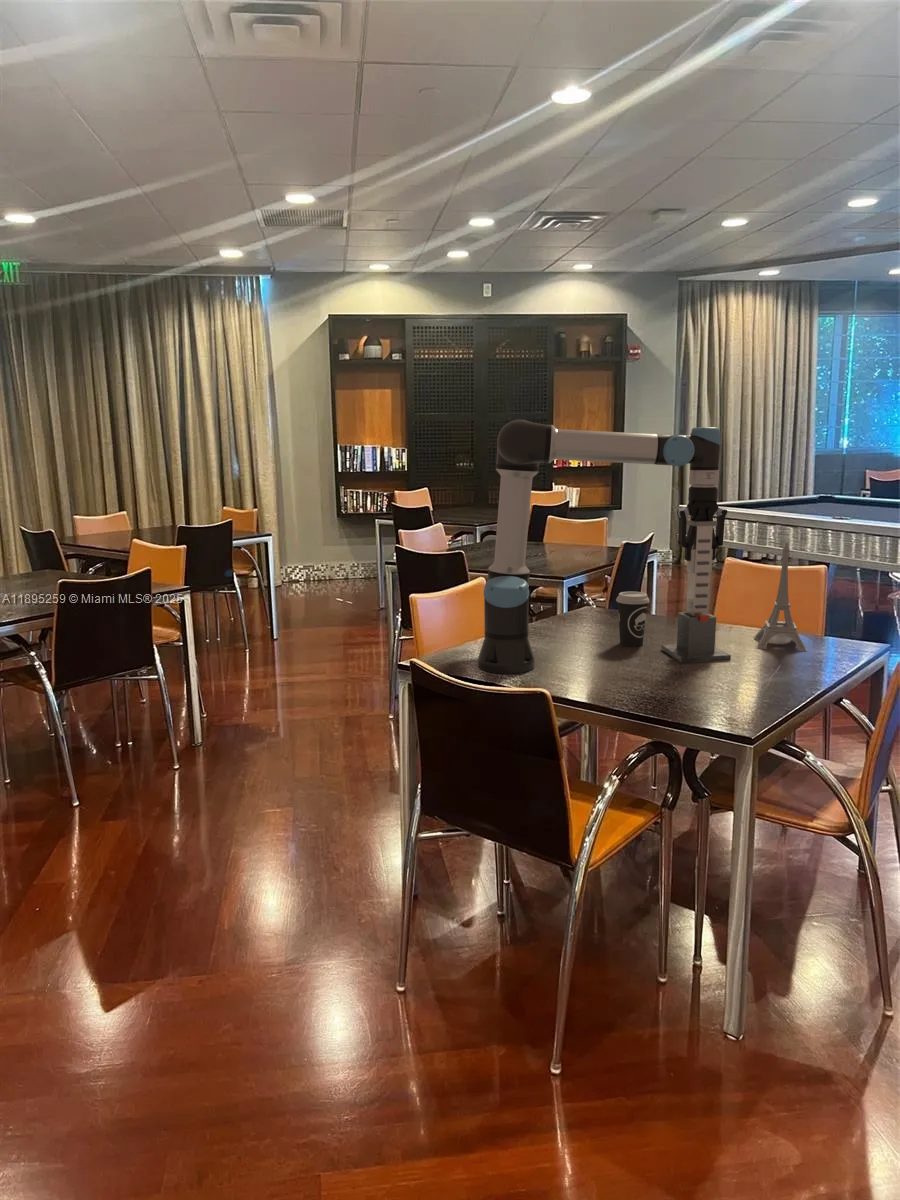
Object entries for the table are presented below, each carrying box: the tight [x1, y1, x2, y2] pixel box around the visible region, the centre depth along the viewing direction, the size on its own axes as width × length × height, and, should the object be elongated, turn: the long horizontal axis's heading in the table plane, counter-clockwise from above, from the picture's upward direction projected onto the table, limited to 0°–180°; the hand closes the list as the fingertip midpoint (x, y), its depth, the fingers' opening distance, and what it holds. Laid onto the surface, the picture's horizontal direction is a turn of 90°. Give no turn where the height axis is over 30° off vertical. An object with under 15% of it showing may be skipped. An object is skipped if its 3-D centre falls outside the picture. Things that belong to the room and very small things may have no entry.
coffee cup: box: [615, 591, 650, 648], centre depth 239 cm, size 10×10×15 cm
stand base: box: [660, 611, 732, 664], centre depth 226 cm, size 14×14×12 cm
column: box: [685, 519, 717, 618], centre depth 223 cm, size 6×6×27 cm
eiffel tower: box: [753, 542, 808, 652], centre depth 235 cm, size 13×13×30 cm
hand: (699, 572), depth 223 cm, fingers closed on column, 4 cm apart
